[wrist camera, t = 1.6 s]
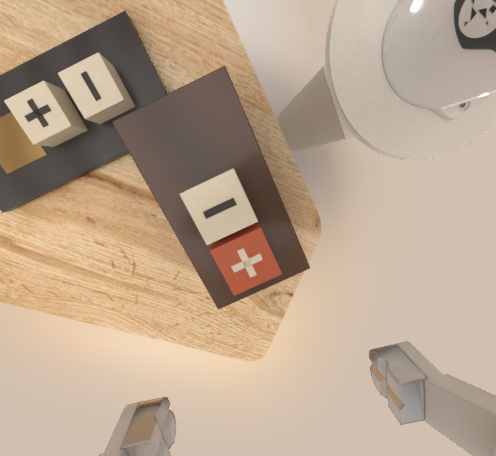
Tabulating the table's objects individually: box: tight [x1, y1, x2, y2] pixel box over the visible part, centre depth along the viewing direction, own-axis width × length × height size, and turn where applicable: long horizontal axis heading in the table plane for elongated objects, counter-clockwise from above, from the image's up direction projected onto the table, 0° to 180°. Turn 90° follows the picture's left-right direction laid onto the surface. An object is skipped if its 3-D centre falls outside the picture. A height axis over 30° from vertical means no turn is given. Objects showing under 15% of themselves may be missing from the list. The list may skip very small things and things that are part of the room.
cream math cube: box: [4, 81, 88, 147], centre depth 25 cm, size 4×4×3 cm
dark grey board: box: [0, 11, 167, 212], centre depth 27 cm, size 24×12×1 cm, turn 115°
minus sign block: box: [58, 52, 135, 124], centre depth 25 cm, size 4×4×3 cm
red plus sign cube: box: [210, 222, 282, 296], centre depth 21 cm, size 4×4×3 cm
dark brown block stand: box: [112, 66, 310, 309], centre depth 26 cm, size 10×19×10 cm, turn 25°
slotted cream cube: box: [180, 168, 258, 245], centre depth 20 cm, size 4×4×3 cm
